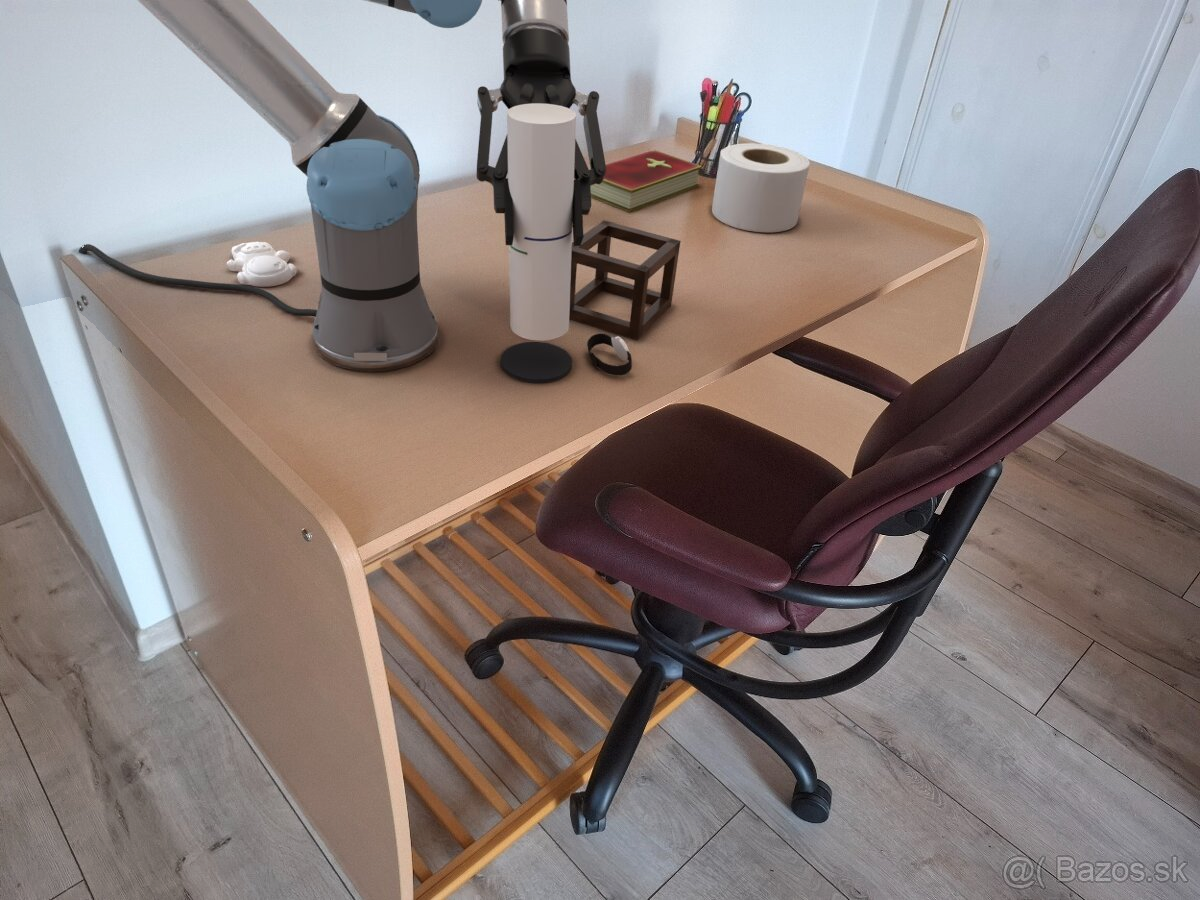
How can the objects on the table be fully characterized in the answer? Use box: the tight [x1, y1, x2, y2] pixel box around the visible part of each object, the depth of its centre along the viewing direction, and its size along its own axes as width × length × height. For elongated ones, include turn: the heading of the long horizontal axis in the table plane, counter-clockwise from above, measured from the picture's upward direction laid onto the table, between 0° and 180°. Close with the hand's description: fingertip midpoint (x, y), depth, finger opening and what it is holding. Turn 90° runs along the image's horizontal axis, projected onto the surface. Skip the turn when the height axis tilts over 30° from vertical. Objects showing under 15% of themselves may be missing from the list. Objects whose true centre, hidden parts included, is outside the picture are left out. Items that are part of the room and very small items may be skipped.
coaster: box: [499, 341, 573, 384], centre depth 105 cm, size 9×9×1 cm
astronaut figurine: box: [226, 241, 298, 288], centre depth 118 cm, size 9×12×3 cm
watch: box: [586, 332, 633, 376], centre depth 105 cm, size 8×5×4 cm, turn 33°
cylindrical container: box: [506, 103, 577, 341], centre depth 94 cm, size 7×7×25 cm
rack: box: [569, 219, 681, 341], centre depth 115 cm, size 12×12×10 cm
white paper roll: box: [711, 142, 811, 233], centre depth 147 cm, size 16×15×11 cm
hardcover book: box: [591, 149, 703, 213], centre depth 155 cm, size 12×21×4 cm, turn 139°
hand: (544, 240), depth 91 cm, fingers closed on cylindrical container, 7 cm apart
